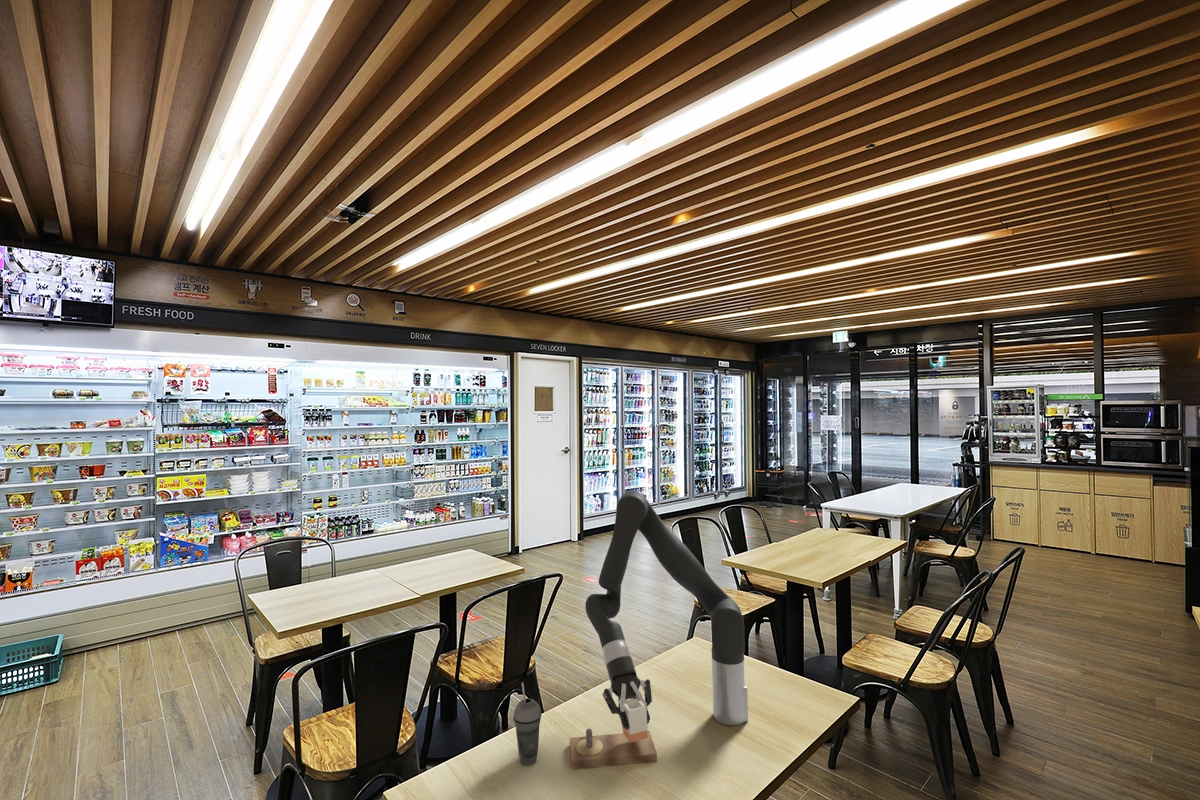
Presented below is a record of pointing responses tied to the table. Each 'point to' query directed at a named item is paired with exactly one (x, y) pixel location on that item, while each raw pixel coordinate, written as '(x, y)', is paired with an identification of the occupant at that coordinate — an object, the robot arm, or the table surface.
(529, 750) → the beverage cup
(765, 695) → the table surface
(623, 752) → the pin board
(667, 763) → the table surface
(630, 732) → the sleeve
